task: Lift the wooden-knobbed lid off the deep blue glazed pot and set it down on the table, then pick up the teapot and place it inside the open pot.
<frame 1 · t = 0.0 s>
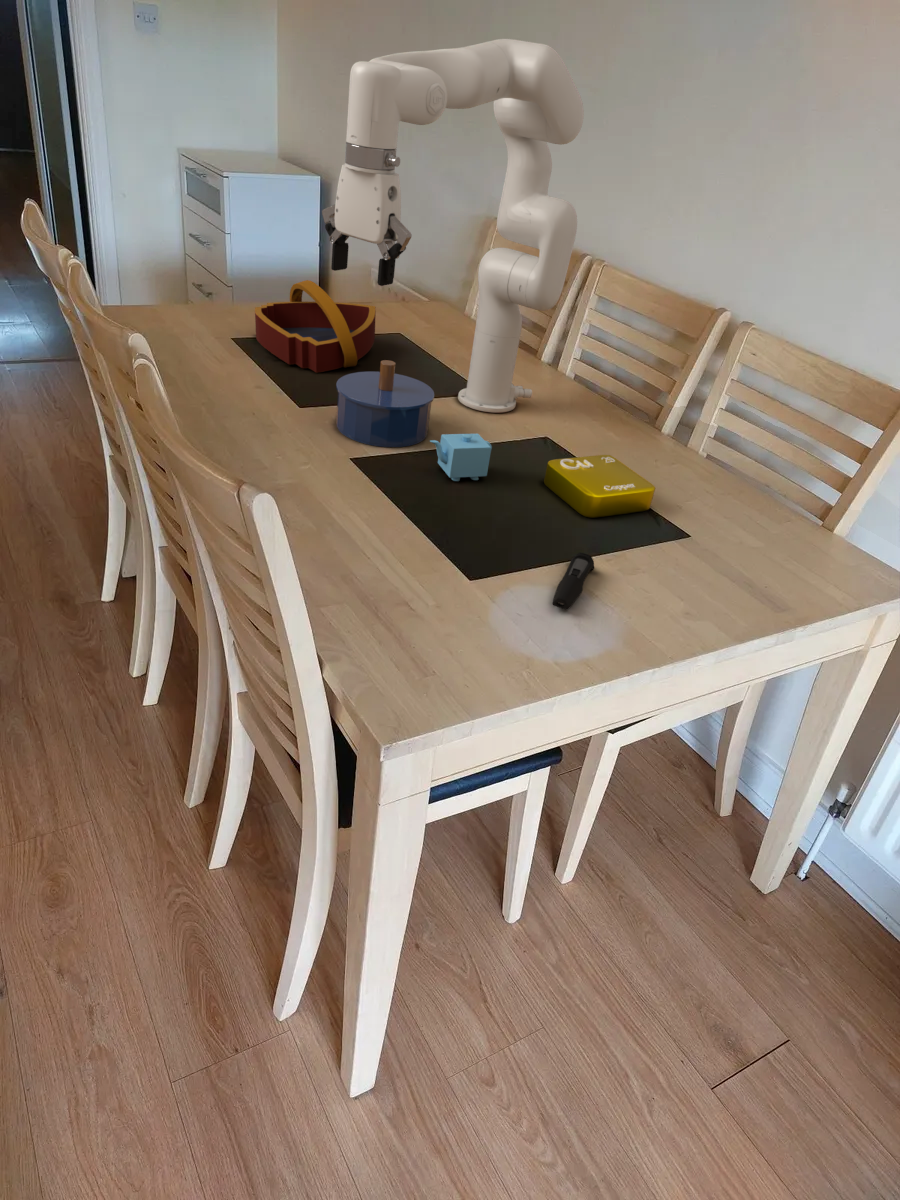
hand: (361, 276, 139), 31 cm above the table, tool pointing down, fingers open, 9 cm apart
lid: (385, 391, 165), point 7 cm above the table, touching pot
teapot: (456, 475, 156), on the table
pot: (381, 428, 169), on the table
electric trimmer: (572, 590, 128), on the table
decorative basket: (317, 349, 204), on the table
element tile: (595, 496, 156), on the table
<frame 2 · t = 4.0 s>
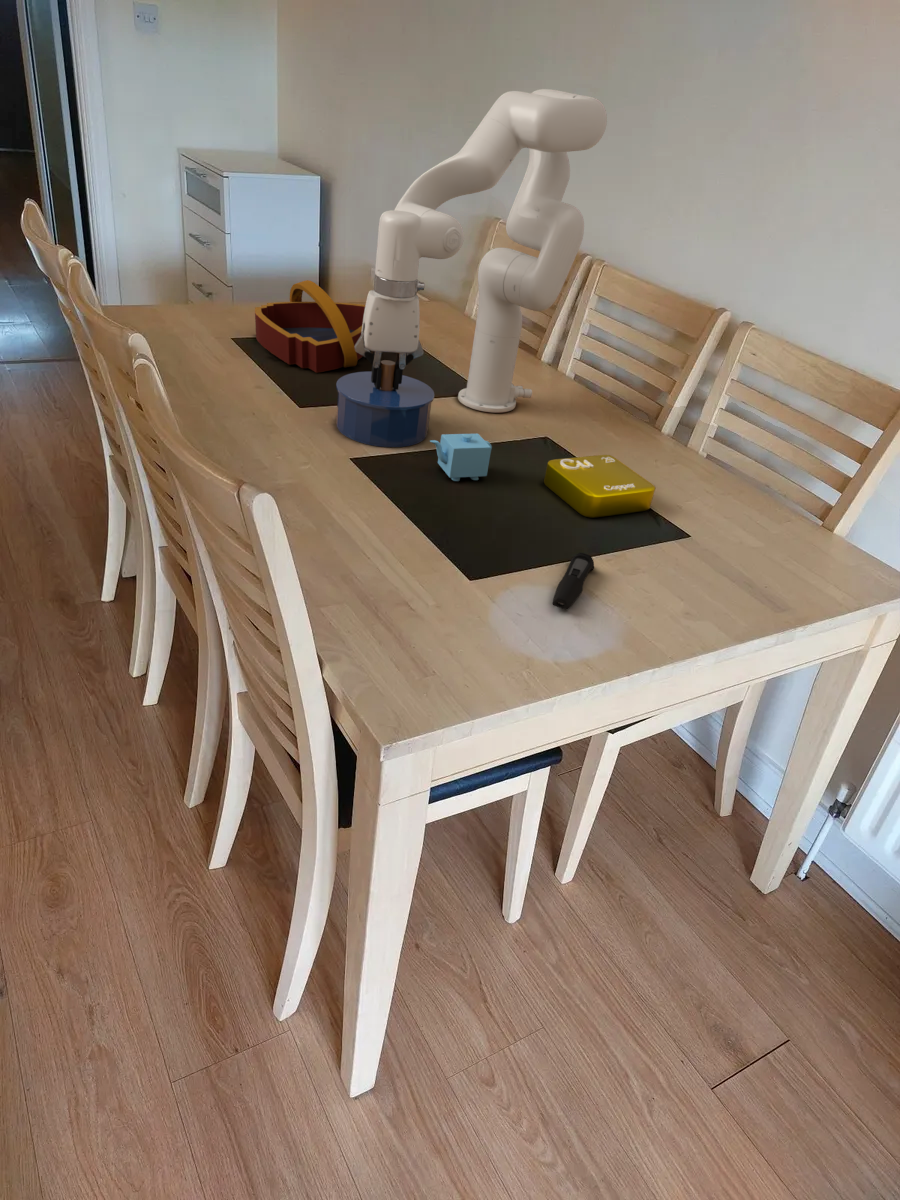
hand: (385, 385, 164), 9 cm above the table, tool pointing down, fingers closed on lid, 2 cm apart
lid: (385, 391, 165), point 8 cm above the table, touching gripper, pot
everything else where it was.
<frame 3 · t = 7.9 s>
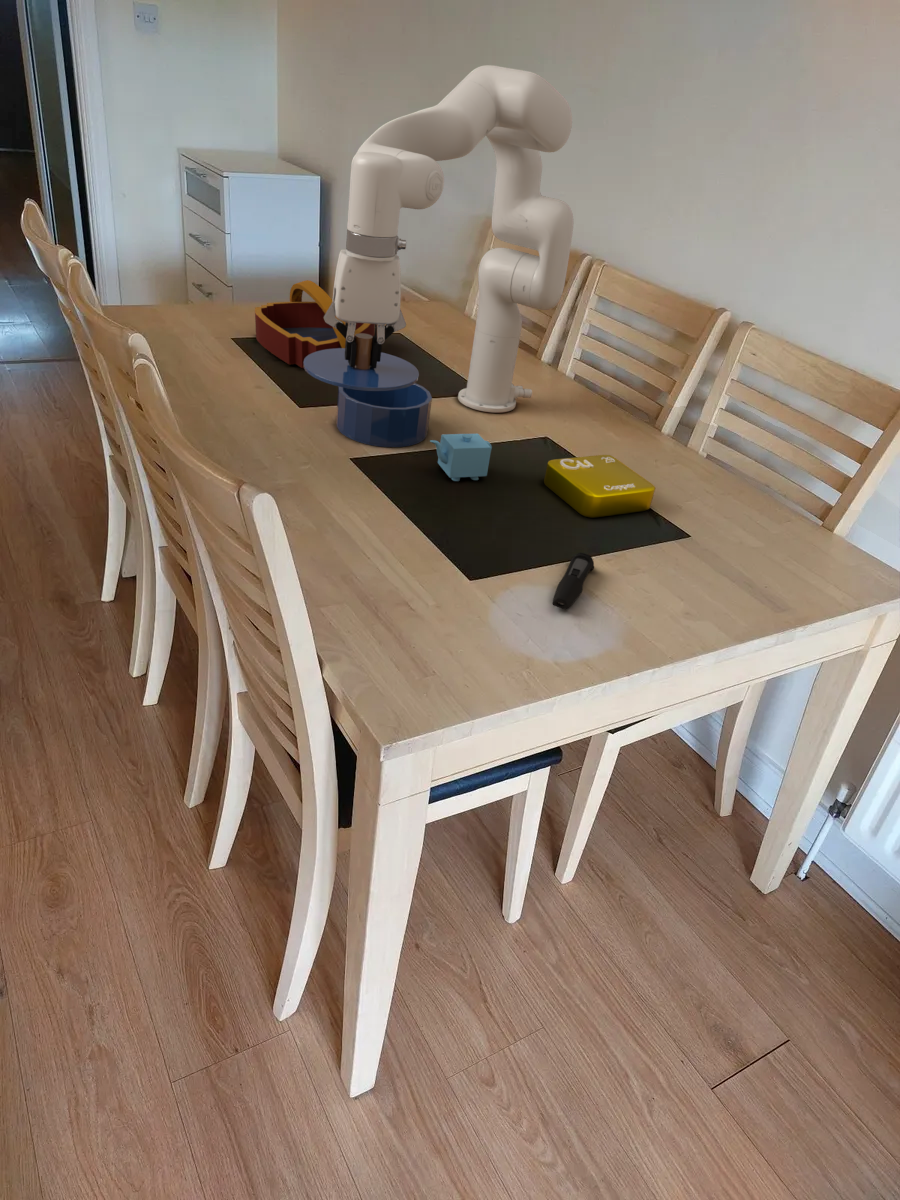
hand: (361, 364, 140), 19 cm above the table, tool pointing down, fingers closed on lid, 2 cm apart
lid: (361, 370, 141), point 18 cm above the table, touching gripper
everything else where it was.
when the fingers open (2 cm above the table, at t = 11.9 s): lid stays where it is, point 1 cm above the table.
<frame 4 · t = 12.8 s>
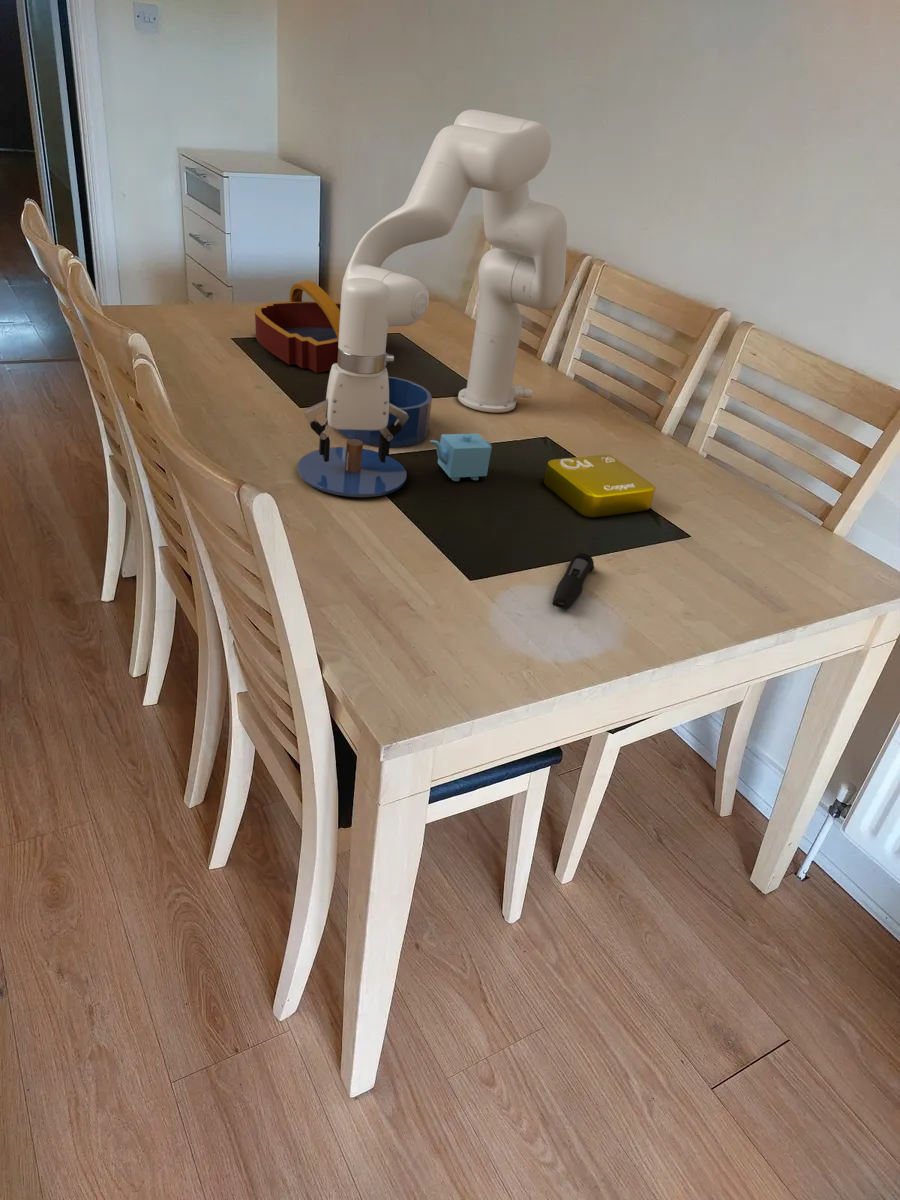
hand: (353, 458, 148), 3 cm above the table, tool pointing down, fingers open, 9 cm apart
lid: (352, 472, 149), point 1 cm above the table
everything else where it was.
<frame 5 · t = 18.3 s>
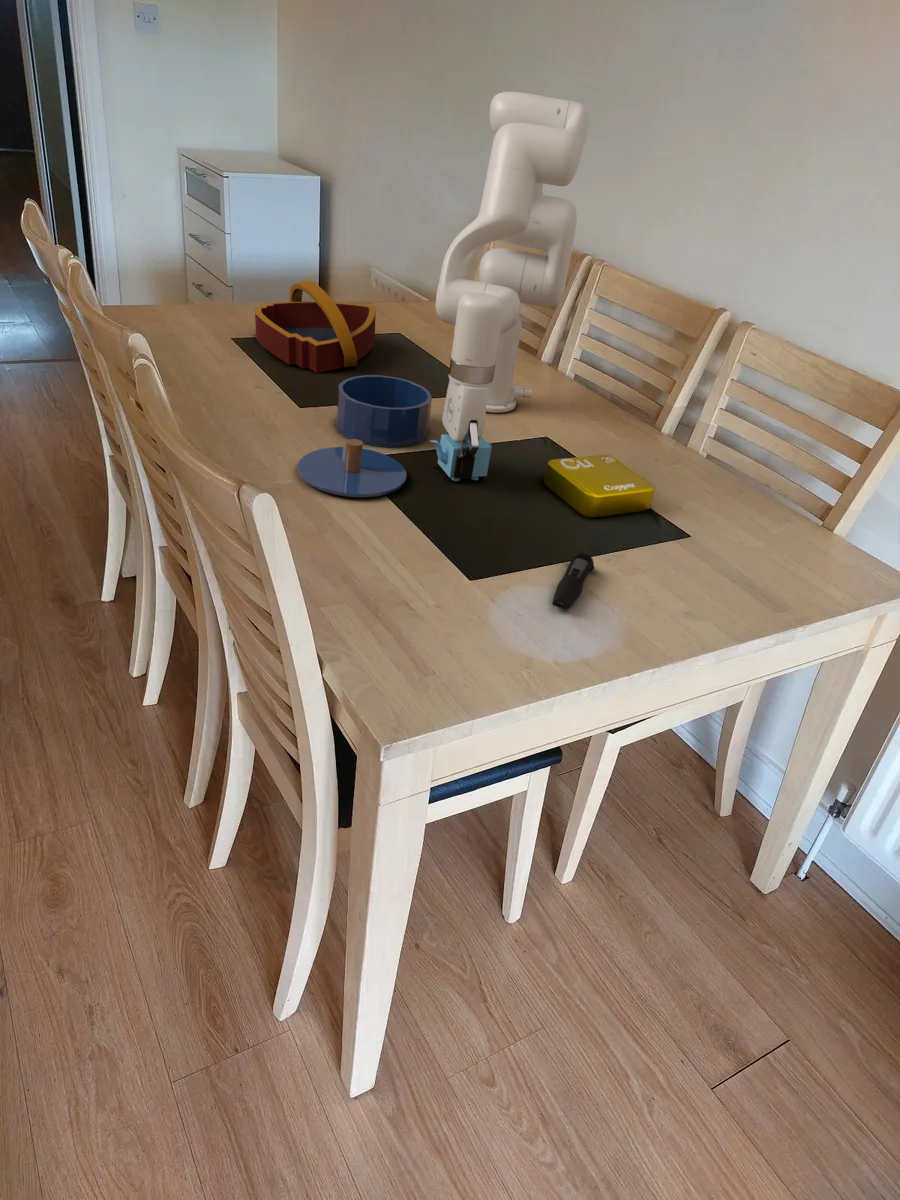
hand: (457, 467, 155), 1 cm above the table, tool pointing down, fingers closed on teapot, 6 cm apart
teapot: (456, 475, 156), on the table, touching gripper
everything else where it was.
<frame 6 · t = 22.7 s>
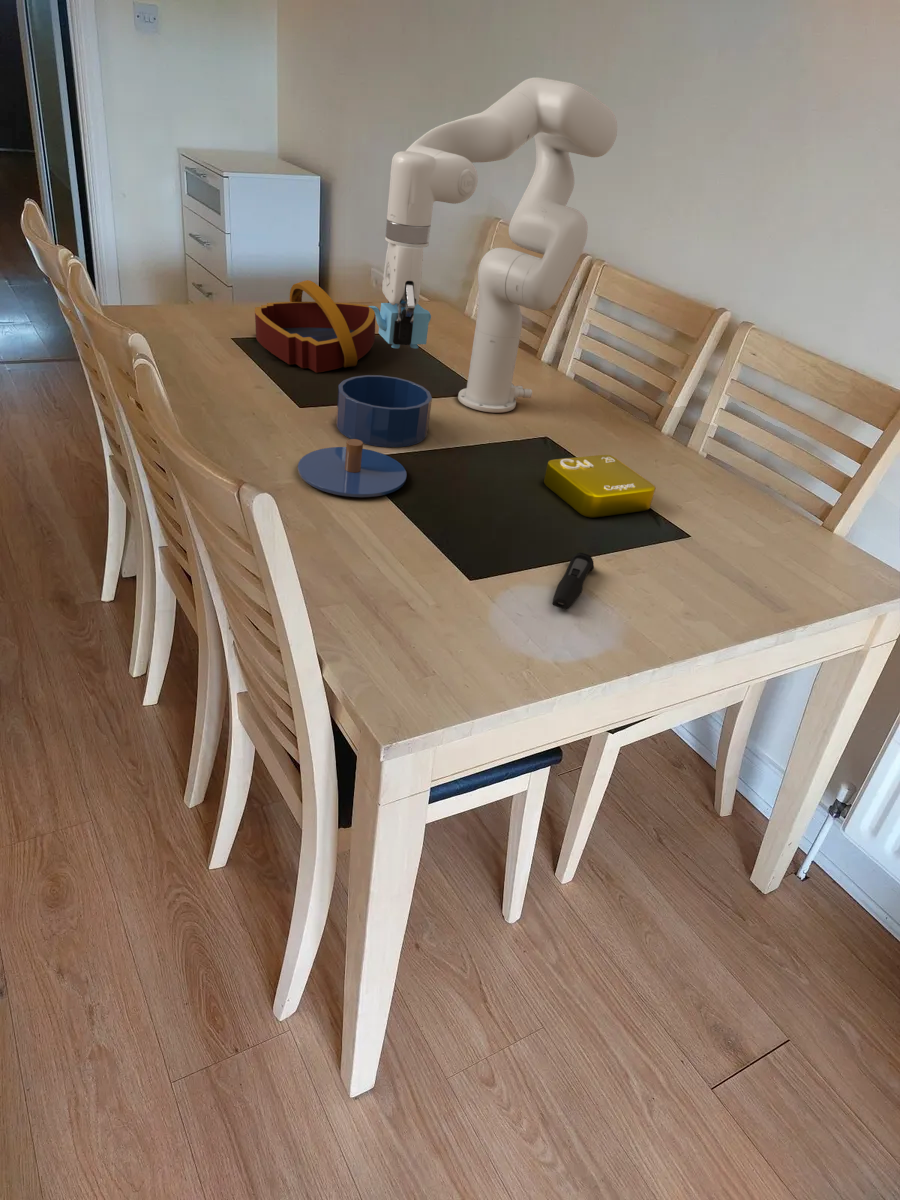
hand: (397, 336, 158), 19 cm above the table, tool pointing down, fingers closed on teapot, 6 cm apart
teapot: (396, 344, 158), point 17 cm above the table, touching gripper
everything else where it was.
when the fingers open (2 cm above the table, at t = 27.0 s): teapot stays where it is, resting on pot.
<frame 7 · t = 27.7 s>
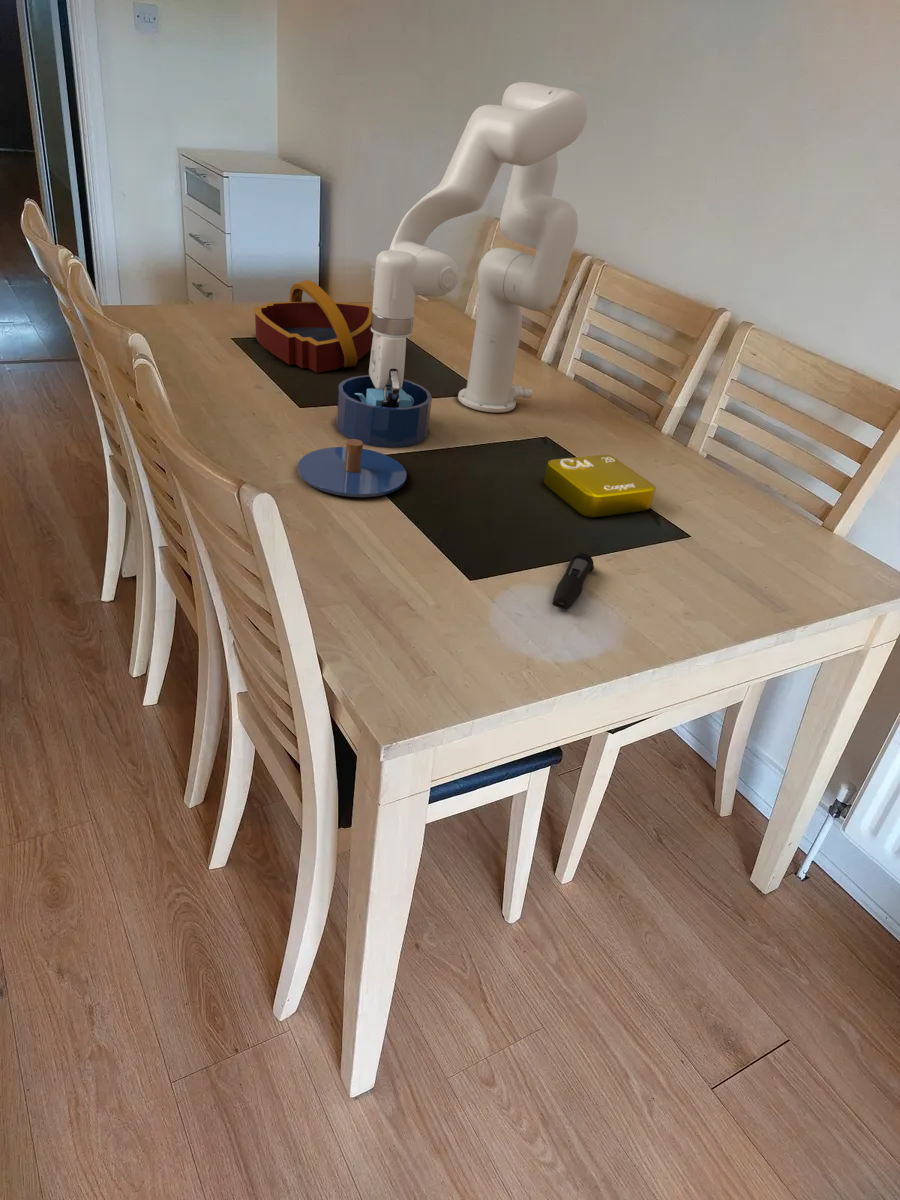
hand: (383, 412, 167), 3 cm above the table, tool pointing down, fingers open, 9 cm apart
teapot: (381, 427, 169), resting on pot
everything else where it was.
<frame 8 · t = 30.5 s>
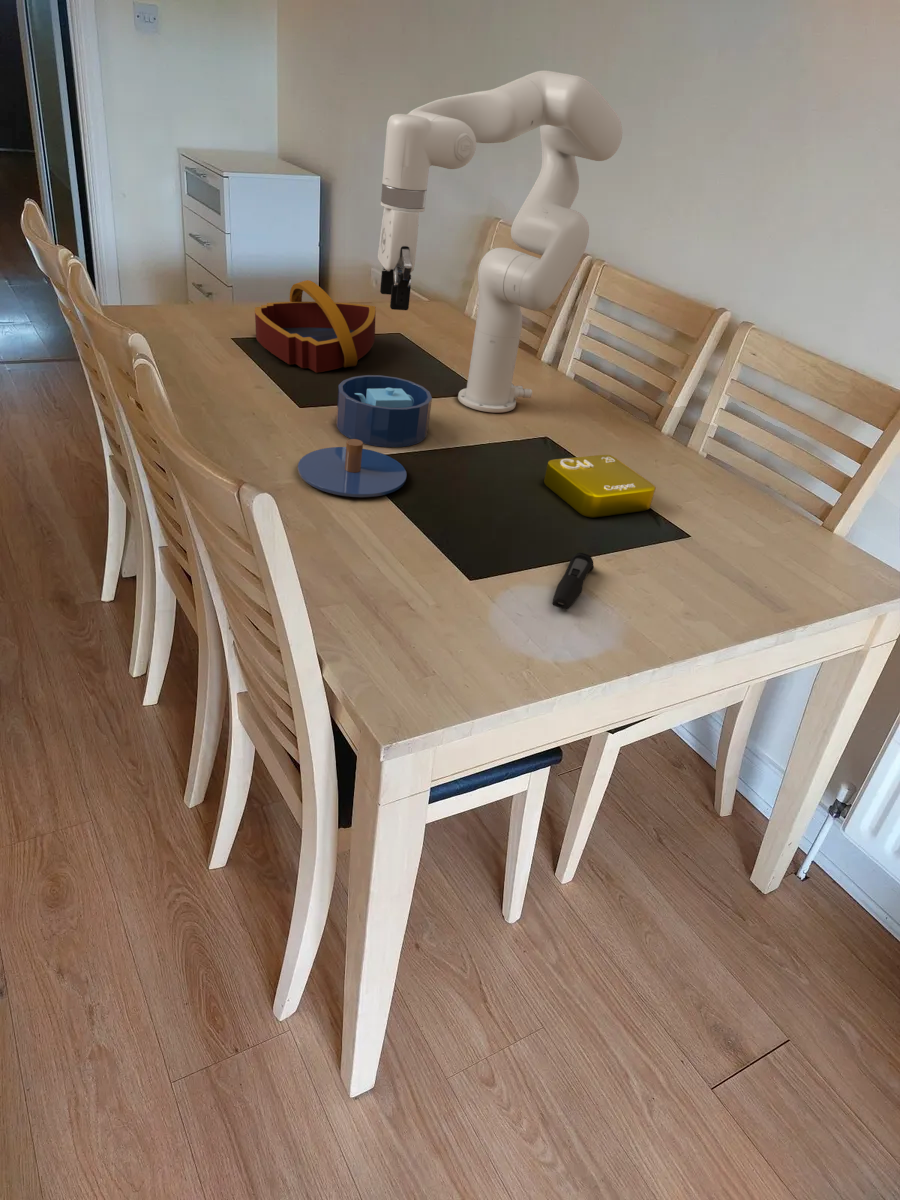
hand: (393, 301, 156), 24 cm above the table, tool pointing down, fingers open, 9 cm apart
nothing on the table moved.
at the end: lid inside the target area (0.0 cm from its centre), point 0.6 cm above the table; teapot inside the target area in the pot (0.1 cm from its centre), point 0.3 cm above the pot's base; teapot tilted 0° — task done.
